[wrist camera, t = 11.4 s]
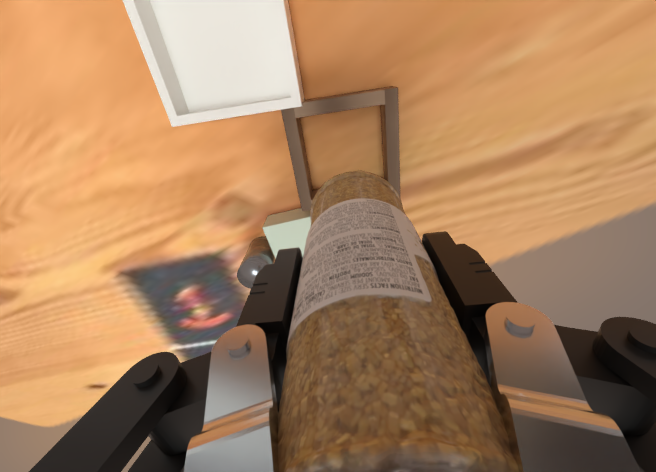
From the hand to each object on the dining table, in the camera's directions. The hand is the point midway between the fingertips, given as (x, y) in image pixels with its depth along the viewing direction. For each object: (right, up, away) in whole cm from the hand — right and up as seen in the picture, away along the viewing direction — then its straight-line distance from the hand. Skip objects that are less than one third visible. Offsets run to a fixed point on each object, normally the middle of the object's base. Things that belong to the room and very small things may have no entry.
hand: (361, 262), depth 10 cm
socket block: (0, +9, +16) cm, 18 cm away
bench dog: (-8, 0, +21) cm, 23 cm away
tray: (-9, +16, +12) cm, 22 cm away
